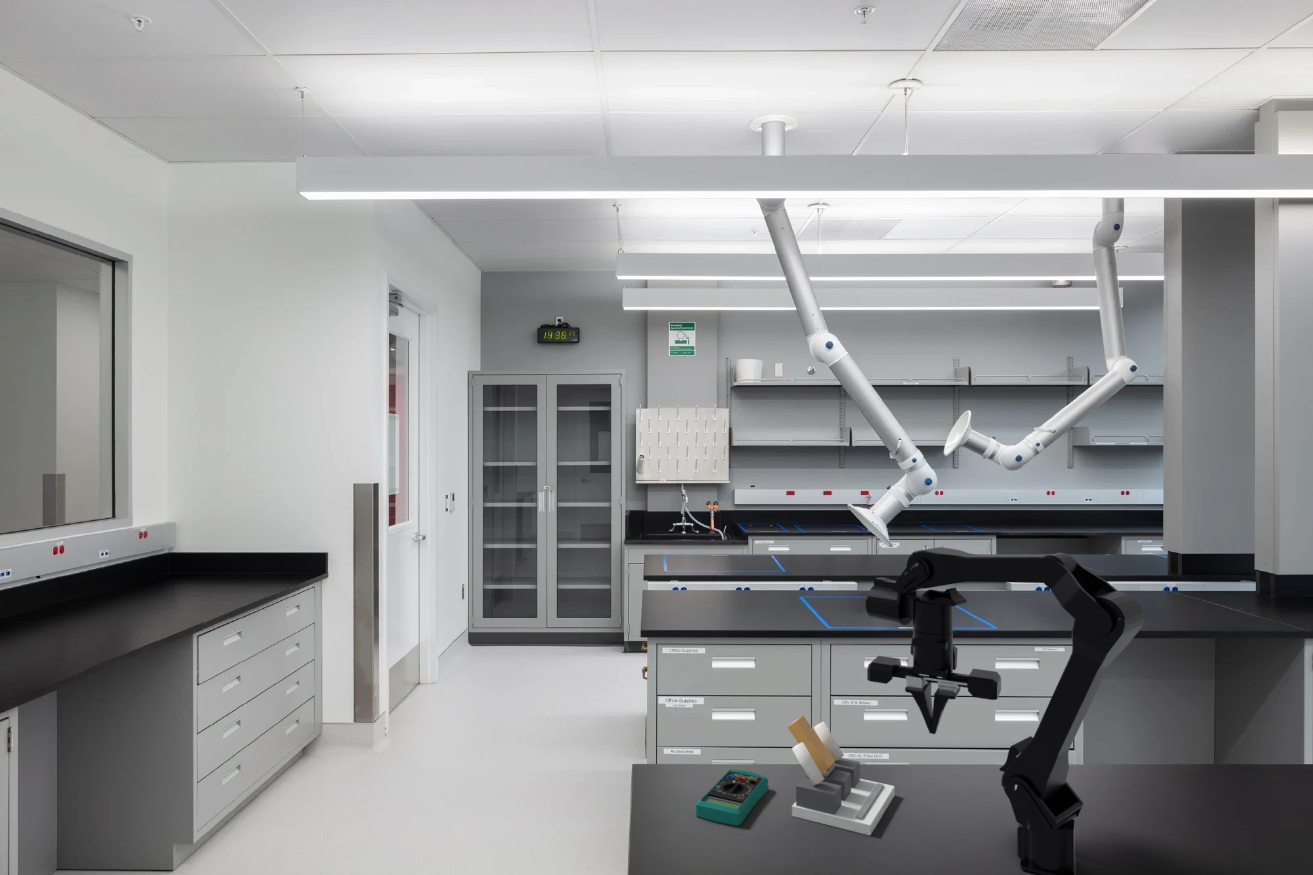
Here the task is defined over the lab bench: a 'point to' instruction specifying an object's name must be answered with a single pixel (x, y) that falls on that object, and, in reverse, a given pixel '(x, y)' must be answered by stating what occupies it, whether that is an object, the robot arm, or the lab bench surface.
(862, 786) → the twin post stand
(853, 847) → the lab bench surface
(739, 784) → the digital multimeter
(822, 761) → the wooden block
